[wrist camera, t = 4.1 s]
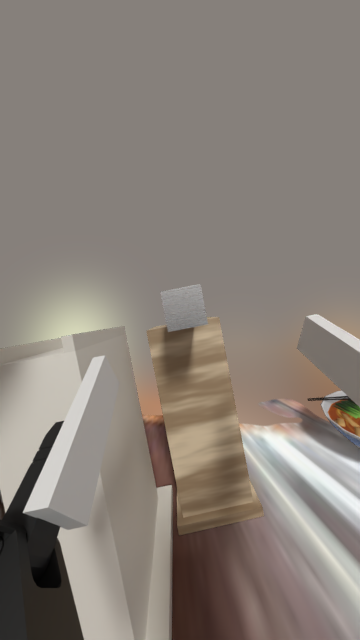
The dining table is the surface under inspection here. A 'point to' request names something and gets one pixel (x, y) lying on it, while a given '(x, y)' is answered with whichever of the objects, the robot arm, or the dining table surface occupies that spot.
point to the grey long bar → (184, 308)
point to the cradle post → (112, 487)
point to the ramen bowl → (342, 415)
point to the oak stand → (202, 427)
